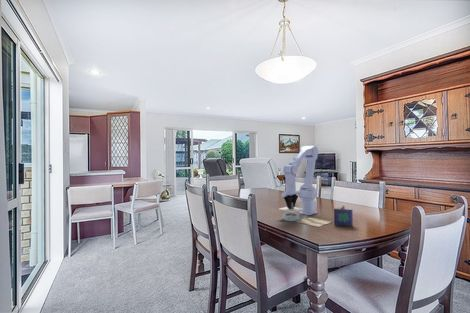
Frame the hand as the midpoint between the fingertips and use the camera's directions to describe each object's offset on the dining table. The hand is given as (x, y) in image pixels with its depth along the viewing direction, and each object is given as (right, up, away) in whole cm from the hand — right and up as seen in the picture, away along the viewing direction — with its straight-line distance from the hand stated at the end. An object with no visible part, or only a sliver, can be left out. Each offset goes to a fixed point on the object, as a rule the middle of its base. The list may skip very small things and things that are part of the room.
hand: (291, 207), depth 149 cm
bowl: (0, -7, 0) cm, 7 cm away
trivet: (+11, -7, -8) cm, 15 cm away
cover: (0, -1, 0) cm, 1 cm away
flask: (+25, -7, -15) cm, 30 cm away
